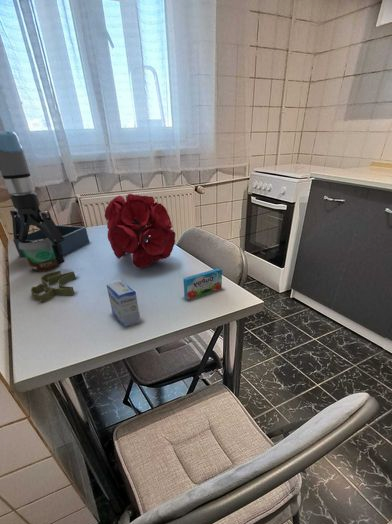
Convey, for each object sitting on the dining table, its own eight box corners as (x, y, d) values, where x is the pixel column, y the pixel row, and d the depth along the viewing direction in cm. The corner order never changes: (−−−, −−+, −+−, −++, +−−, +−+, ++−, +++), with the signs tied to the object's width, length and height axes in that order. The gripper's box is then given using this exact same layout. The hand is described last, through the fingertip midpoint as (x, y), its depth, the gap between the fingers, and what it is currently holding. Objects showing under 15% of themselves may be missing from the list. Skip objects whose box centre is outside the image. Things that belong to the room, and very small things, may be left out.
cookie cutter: (73, 297, 86) (71, 291, 85) (29, 304, 83) (27, 297, 82) (77, 274, 100) (75, 268, 98) (39, 279, 97) (37, 273, 96)
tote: (19, 256, 116) (12, 239, 112) (56, 240, 133) (52, 224, 129) (55, 260, 112) (49, 242, 108) (89, 242, 128) (85, 227, 124)
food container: (35, 275, 100) (24, 246, 94) (28, 271, 103) (16, 242, 97) (69, 265, 107) (60, 236, 101) (61, 261, 110) (52, 233, 104)
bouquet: (104, 281, 111) (132, 261, 85) (82, 217, 107) (105, 176, 81) (154, 270, 122) (192, 249, 96) (136, 212, 118) (171, 174, 92)
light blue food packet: (187, 300, 82) (186, 280, 78) (184, 298, 83) (183, 278, 79) (221, 289, 87) (222, 269, 83) (218, 287, 88) (218, 267, 84)
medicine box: (112, 314, 77) (105, 284, 72) (128, 309, 79) (122, 279, 74) (124, 327, 72) (118, 295, 67) (141, 321, 74) (135, 290, 69)
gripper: (63, 191, 90) (81, 260, 103) (3, 190, 97) (27, 255, 110) (45, 196, 84) (67, 268, 98) (-17, 194, 91) (11, 262, 104)
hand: (46, 261), depth 104 cm, fingers open, 12 cm apart
